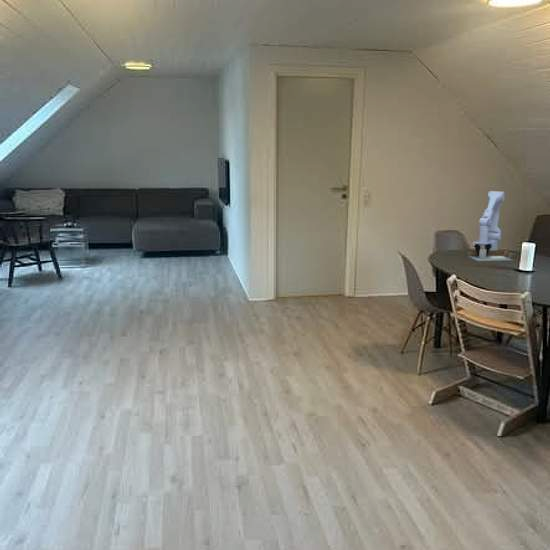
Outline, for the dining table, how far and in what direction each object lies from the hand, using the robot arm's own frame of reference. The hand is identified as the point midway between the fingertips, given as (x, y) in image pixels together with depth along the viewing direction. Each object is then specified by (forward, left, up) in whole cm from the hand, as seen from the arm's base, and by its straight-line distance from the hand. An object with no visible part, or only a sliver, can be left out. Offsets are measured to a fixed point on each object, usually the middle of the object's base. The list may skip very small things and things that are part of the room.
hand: (481, 255), depth 379 cm
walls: (+1, +6, -2) cm, 6 cm away
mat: (+1, +6, -2) cm, 6 cm away
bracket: (+4, 0, -2) cm, 4 cm away
